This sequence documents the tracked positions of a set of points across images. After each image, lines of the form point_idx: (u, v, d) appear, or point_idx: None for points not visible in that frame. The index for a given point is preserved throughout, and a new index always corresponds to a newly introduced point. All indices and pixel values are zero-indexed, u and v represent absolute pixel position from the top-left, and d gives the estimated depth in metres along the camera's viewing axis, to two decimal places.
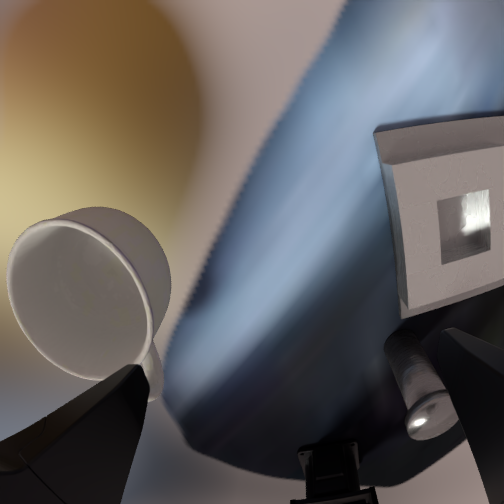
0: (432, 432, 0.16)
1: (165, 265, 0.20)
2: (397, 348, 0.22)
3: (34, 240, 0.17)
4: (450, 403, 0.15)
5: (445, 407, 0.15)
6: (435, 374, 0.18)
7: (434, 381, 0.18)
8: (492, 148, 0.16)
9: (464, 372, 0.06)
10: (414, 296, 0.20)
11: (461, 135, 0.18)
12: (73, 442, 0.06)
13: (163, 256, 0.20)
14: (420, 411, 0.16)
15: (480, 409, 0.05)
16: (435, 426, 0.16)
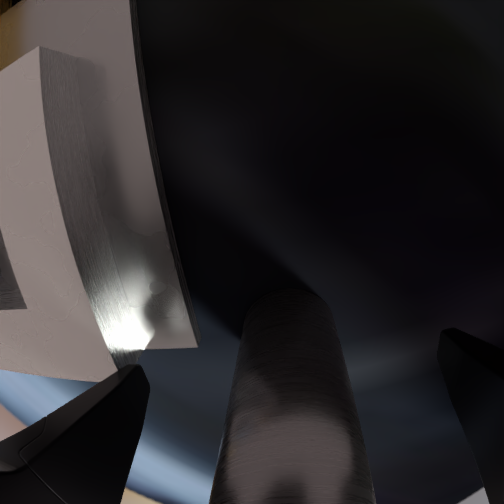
0: None
1: None
2: None
3: None
4: None
5: None
6: (224, 458, 0.05)
7: None
8: None
9: (464, 372, 0.06)
10: (93, 369, 0.09)
11: None
12: (74, 442, 0.06)
13: None
14: None
15: (480, 409, 0.05)
16: None
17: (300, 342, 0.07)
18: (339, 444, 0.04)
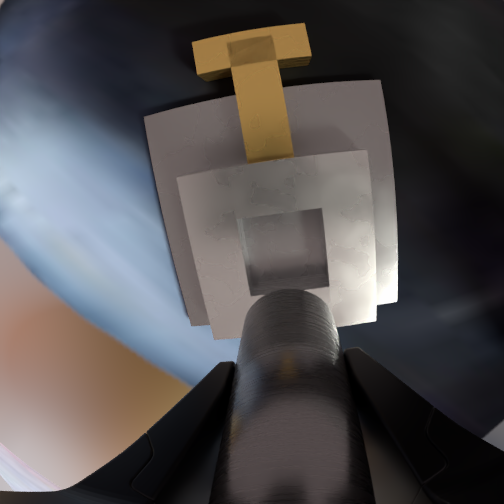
0: None
1: None
2: None
3: None
4: None
5: None
6: (223, 460, 0.05)
7: None
8: (184, 211, 0.17)
9: (355, 397, 0.07)
10: (361, 316, 0.18)
11: (183, 230, 0.19)
12: (189, 459, 0.05)
13: None
14: None
15: (367, 440, 0.06)
16: None
17: (300, 343, 0.07)
18: (339, 446, 0.04)
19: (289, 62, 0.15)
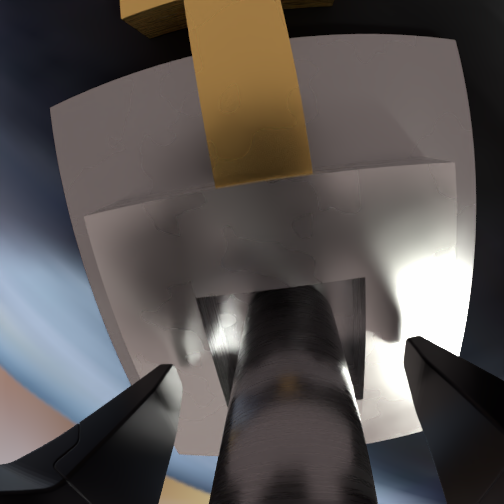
0: None
1: None
2: None
3: None
4: None
5: None
6: (227, 442, 0.05)
7: (211, 491, 0.04)
8: (103, 277, 0.09)
9: (426, 383, 0.06)
10: (404, 428, 0.10)
11: None
12: (112, 450, 0.05)
13: None
14: None
15: (441, 422, 0.06)
16: None
17: (300, 332, 0.08)
18: (338, 427, 0.05)
19: None
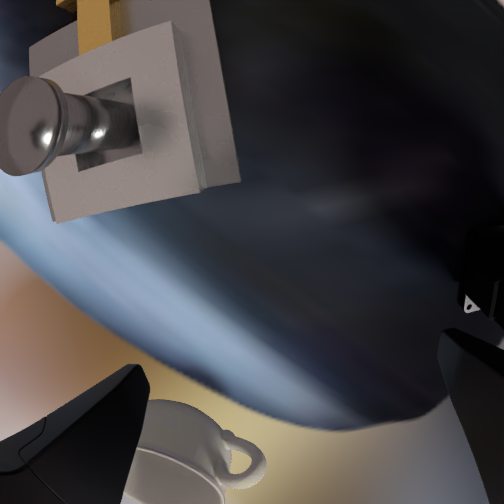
0: (39, 117, 0.09)
1: (154, 407, 0.22)
2: None
3: None
4: None
5: None
6: None
7: None
8: None
9: (464, 372, 0.06)
10: (181, 186, 0.17)
11: None
12: (74, 442, 0.06)
13: (149, 405, 0.22)
14: (0, 166, 0.10)
15: (480, 409, 0.05)
16: (28, 119, 0.09)
17: None
18: (74, 94, 0.12)
19: None
